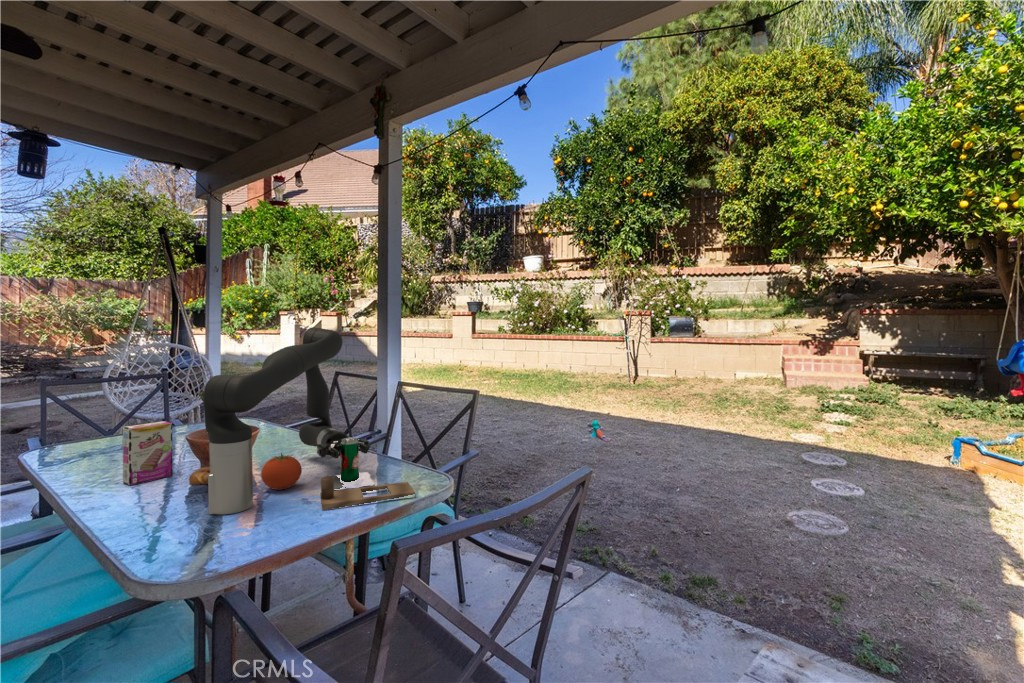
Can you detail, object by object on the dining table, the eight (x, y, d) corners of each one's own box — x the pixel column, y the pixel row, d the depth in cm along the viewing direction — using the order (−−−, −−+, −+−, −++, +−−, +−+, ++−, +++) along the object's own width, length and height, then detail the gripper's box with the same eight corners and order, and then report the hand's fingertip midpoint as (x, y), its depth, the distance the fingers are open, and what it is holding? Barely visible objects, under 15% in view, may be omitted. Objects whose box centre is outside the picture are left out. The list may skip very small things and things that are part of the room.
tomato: (255, 488, 137) (255, 453, 137) (293, 480, 144) (292, 446, 144) (269, 498, 130) (268, 460, 129) (307, 488, 137) (307, 453, 137)
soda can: (356, 482, 141) (355, 441, 140) (338, 482, 141) (337, 441, 140) (360, 476, 146) (360, 436, 146) (343, 477, 146) (343, 437, 145)
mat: (329, 491, 135) (329, 489, 135) (326, 477, 147) (326, 476, 147) (374, 485, 140) (374, 483, 140) (368, 472, 152) (368, 471, 152)
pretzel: (197, 489, 137) (197, 476, 137) (182, 482, 143) (181, 469, 143) (242, 478, 146) (241, 466, 146) (226, 471, 153) (225, 460, 153)
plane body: (322, 510, 121) (322, 484, 121) (320, 498, 130) (320, 473, 129) (415, 497, 130) (415, 473, 130) (407, 486, 139) (407, 464, 139)
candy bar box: (130, 486, 138) (128, 428, 138) (122, 483, 141) (120, 426, 140) (174, 476, 148) (173, 422, 147) (165, 473, 150) (164, 420, 150)
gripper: (309, 432, 149) (326, 443, 137) (354, 426, 158) (375, 435, 146) (309, 457, 150) (327, 469, 137) (355, 449, 159) (375, 461, 146)
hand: (352, 452), depth 141 cm, fingers open, 8 cm apart
